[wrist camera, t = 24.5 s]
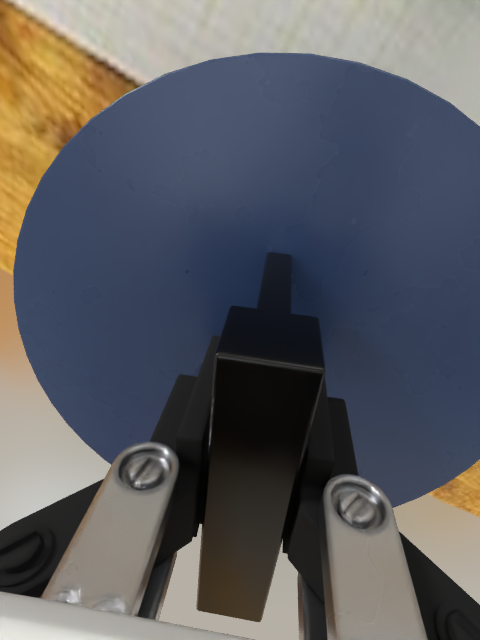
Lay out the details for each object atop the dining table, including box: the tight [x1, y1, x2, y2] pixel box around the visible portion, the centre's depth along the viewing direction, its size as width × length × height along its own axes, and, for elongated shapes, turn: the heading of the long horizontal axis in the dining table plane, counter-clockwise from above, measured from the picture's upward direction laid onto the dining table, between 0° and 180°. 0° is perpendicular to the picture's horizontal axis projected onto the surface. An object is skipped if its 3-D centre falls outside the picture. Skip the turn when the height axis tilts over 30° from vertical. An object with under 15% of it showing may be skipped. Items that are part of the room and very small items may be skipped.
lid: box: [13, 53, 480, 622], centre depth 10 cm, size 17×17×6 cm
